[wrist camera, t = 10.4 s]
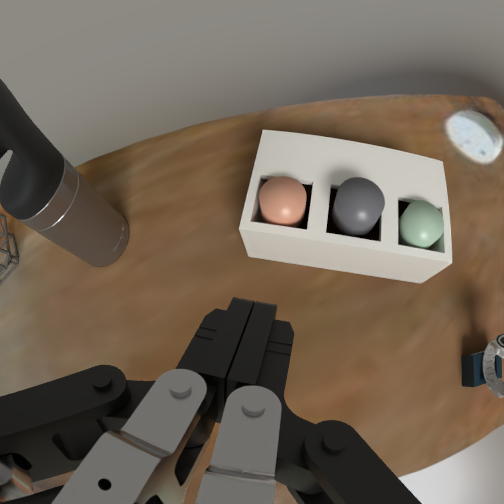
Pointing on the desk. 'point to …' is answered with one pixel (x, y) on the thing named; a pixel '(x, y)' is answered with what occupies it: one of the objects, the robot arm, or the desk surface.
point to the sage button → (420, 225)
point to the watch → (485, 367)
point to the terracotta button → (283, 202)
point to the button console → (323, 178)
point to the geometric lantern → (7, 249)
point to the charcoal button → (357, 206)
